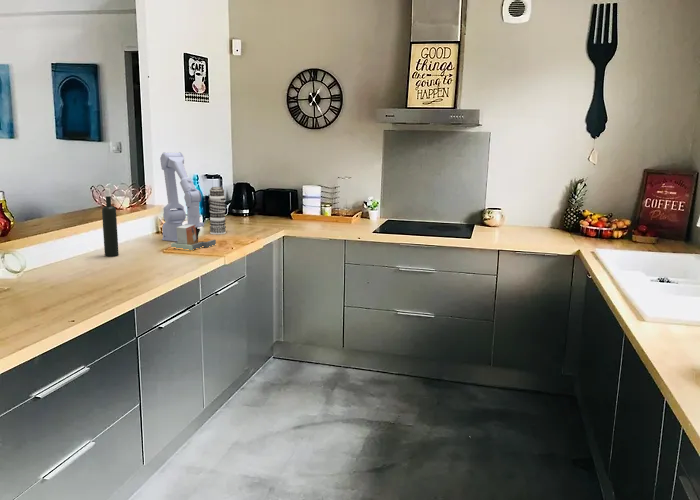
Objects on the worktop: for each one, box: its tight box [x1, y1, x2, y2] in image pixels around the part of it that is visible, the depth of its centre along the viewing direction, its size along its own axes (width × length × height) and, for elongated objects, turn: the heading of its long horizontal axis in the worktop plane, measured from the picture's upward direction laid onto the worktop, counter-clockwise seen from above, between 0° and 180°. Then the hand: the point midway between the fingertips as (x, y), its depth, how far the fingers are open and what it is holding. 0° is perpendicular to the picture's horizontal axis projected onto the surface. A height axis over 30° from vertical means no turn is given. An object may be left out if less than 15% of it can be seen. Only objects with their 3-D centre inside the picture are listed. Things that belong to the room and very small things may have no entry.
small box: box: [176, 223, 197, 245], centre depth 283 cm, size 8×6×10 cm
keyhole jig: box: [170, 239, 217, 251], centre depth 287 cm, size 16×17×2 cm
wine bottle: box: [101, 187, 120, 258], centre depth 261 cm, size 6×6×30 cm
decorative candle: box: [208, 186, 227, 235], centre depth 320 cm, size 9×9×25 cm
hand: (194, 243), depth 289 cm, fingers closed, pressing on small box
